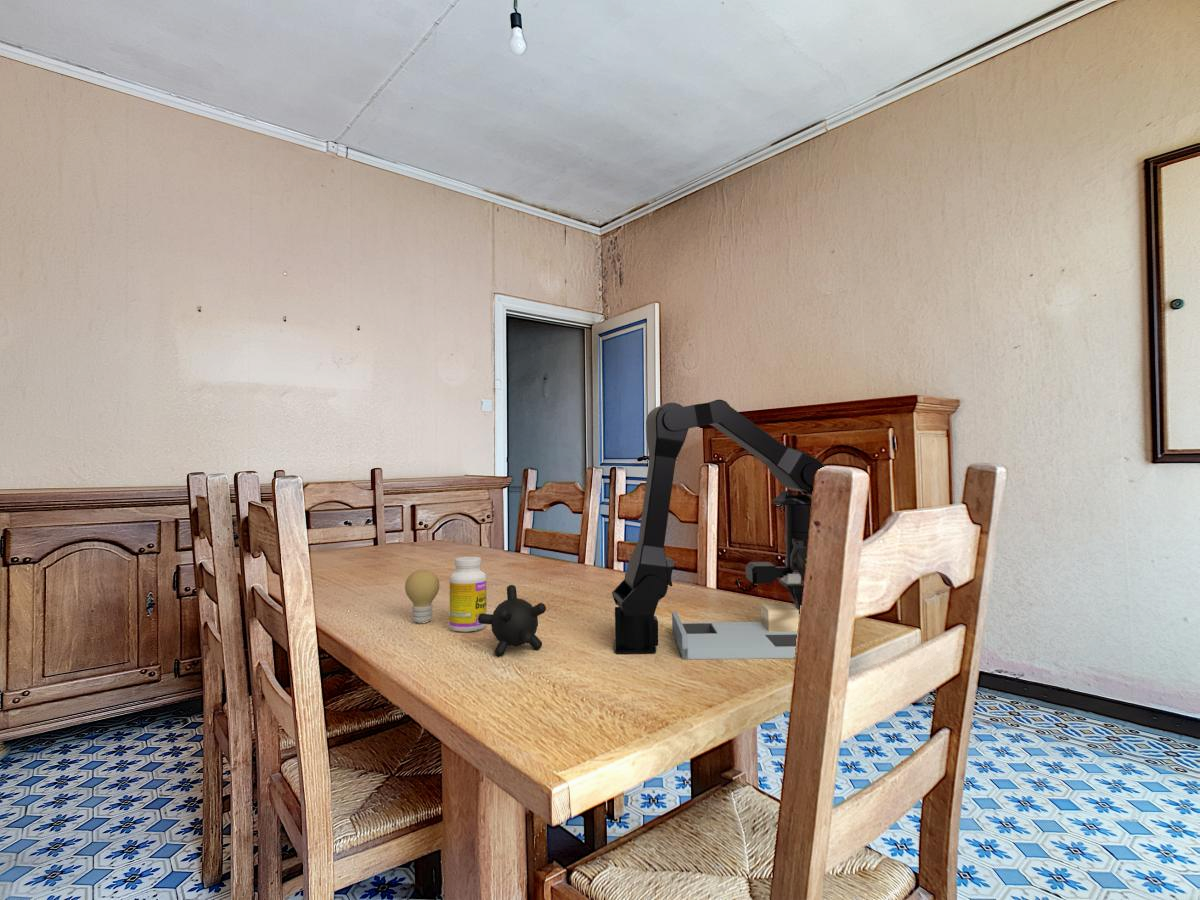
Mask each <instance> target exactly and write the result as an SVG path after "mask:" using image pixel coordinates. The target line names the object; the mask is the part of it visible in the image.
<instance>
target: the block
mask: <svg viewBox="0 0 1200 900" xmlns="http://www.w3.org/2000/svg"><path fill="white" fill-rule="evenodd" d="M760 615H761V616H760V617H761V621H760V622H761V624H762V625H763V626H764V627H765V628H766V629H767V630H768V631H769V632H779V631H797V629H798V622H799V621H800V616H799V610H798V609H797V608H796V606H795V605H793V604H792V603H790V602H781V603H780V602H778V603H776V602H775V603H773V602H770V603H769V602H768V603H764V602H763V603H760Z"/></svg>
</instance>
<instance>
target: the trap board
mask: <svg viewBox="0 0 1200 900" xmlns="http://www.w3.org/2000/svg"><path fill="white" fill-rule="evenodd" d="M671 623H672V624H671V627H672V629H671V630H672V635H673V637H674V640H675V643H676V646H677V649H678V651H679V653H680V656H681V659H682V660H734V659H735V660H736V659H737V660H742V659H743V660H747V659H749V660H750V659H751V660H752V659H755V660H757V659H758V660H762V659H795V658H794V655H795V648H796V638H797V631H779V632H769V631H768V630H767V629H766V628H765V627H764V626H763V625H762V624H761V621H738V622H737V621H734V622H732V621H731V622H729V621H726V622H725V621H723V622H720V621H719V622H718V621H717V622H716V621H715V622H713V621H712V622H682V620H681V618H680V616H679V614H678V612H677V610H675V611H671Z"/></svg>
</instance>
